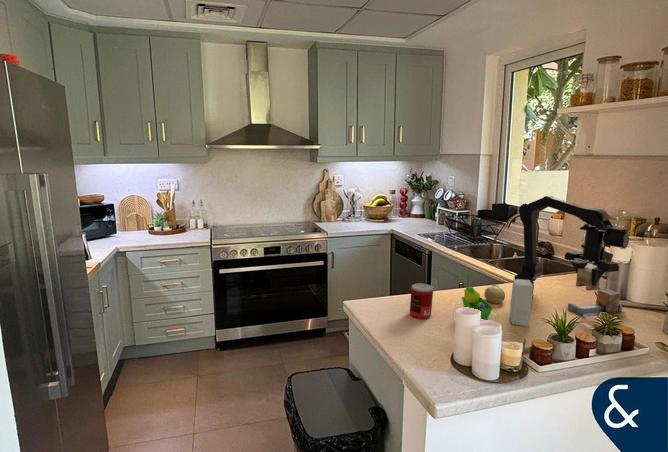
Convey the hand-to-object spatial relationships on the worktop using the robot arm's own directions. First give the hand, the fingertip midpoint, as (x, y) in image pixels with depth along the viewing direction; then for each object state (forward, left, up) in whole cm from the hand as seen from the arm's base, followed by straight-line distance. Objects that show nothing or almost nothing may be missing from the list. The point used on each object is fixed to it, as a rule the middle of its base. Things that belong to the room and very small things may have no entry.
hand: (587, 283), depth 154 cm
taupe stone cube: (+11, 0, -11) cm, 16 cm away
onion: (-27, +18, -12) cm, 34 cm away
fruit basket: (-44, +7, -12) cm, 46 cm away
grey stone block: (0, 0, -2) cm, 2 cm away
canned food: (-64, +11, -12) cm, 66 cm away
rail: (+5, 0, -12) cm, 13 cm away
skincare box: (-31, -1, -12) cm, 33 cm away
